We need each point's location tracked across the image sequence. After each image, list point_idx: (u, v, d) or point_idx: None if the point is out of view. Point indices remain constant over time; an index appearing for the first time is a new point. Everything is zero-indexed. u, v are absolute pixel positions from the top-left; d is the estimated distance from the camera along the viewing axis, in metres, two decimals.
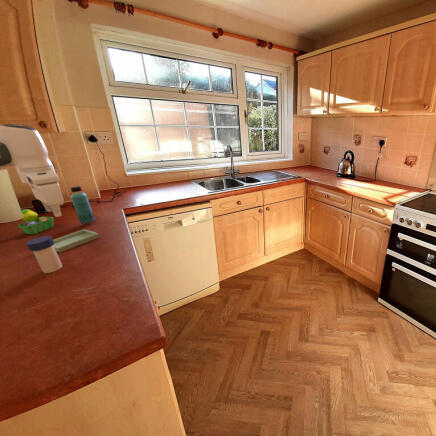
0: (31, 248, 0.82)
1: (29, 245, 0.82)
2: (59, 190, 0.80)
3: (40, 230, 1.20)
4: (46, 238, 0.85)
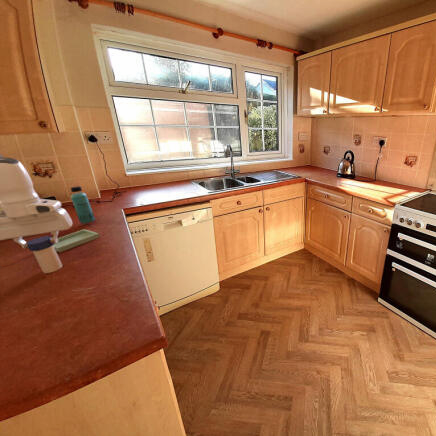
0: (31, 248, 0.82)
1: (29, 245, 0.82)
2: (67, 213, 0.87)
3: None
4: (46, 238, 0.85)
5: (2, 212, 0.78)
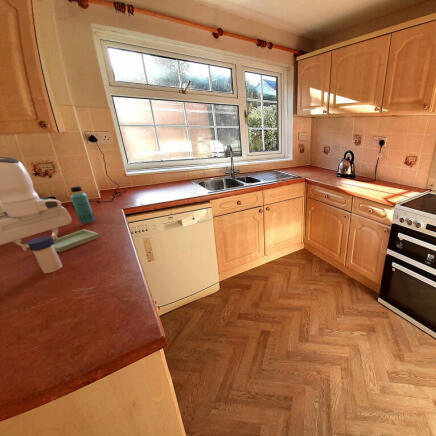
0: (38, 247, 0.82)
1: (36, 244, 0.82)
2: None
3: None
4: (45, 237, 0.86)
5: (2, 214, 0.75)
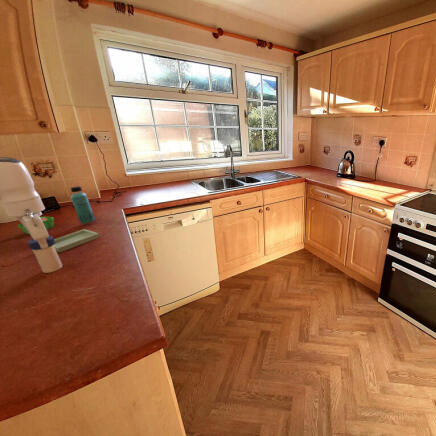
0: (53, 241, 0.86)
1: (51, 239, 0.86)
2: None
3: None
4: None
5: (30, 211, 0.78)
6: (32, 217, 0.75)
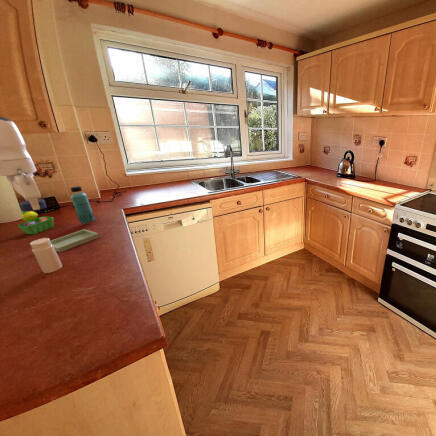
0: (44, 204, 0.87)
1: (43, 202, 0.86)
2: None
3: (40, 230, 1.20)
4: None
5: None
6: (24, 175, 0.75)
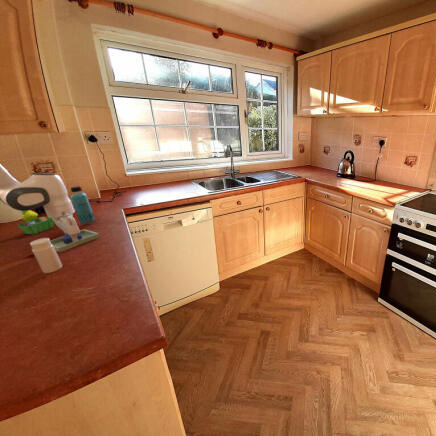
0: (81, 237, 1.09)
1: (80, 235, 1.09)
2: None
3: (40, 230, 1.20)
4: None
5: (65, 213, 1.01)
6: (69, 218, 0.98)
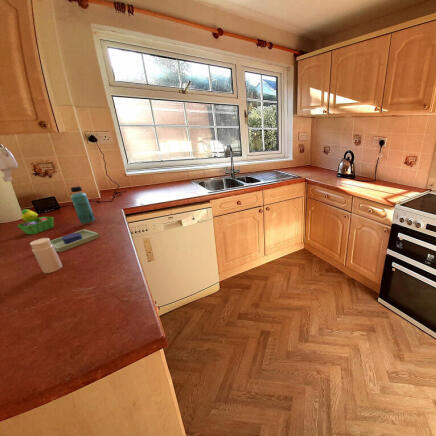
0: (81, 237, 1.09)
1: (80, 235, 1.09)
2: None
3: (40, 230, 1.20)
4: (69, 234, 1.09)
5: None
6: (5, 147, 0.89)
